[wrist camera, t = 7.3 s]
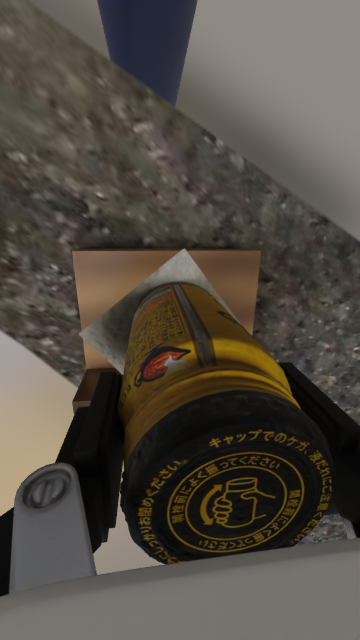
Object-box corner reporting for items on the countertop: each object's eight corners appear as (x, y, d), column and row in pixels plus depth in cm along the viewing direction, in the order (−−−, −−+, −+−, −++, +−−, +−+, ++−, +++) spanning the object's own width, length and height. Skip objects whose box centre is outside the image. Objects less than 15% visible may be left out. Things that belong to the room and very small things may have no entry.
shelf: (81, 248, 24) (49, 256, 16) (249, 248, 25) (291, 255, 18) (94, 364, 27) (73, 414, 20) (239, 357, 29) (270, 401, 22)
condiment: (247, 333, 18) (416, 508, 7) (152, 402, 19) (157, 659, 8) (183, 247, 15) (276, 290, 4) (79, 332, 16) (-73, 552, 5)
